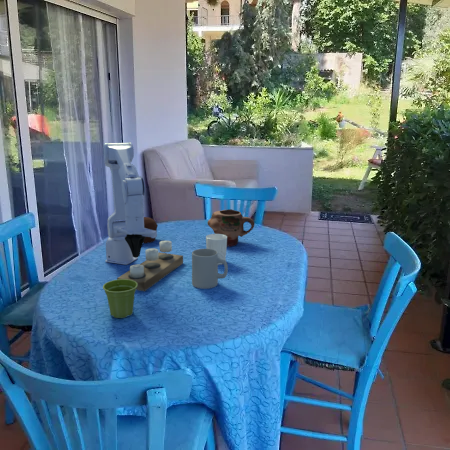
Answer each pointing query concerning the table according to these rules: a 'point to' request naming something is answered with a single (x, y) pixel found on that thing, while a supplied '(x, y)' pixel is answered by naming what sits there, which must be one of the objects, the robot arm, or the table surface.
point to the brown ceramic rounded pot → (230, 225)
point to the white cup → (217, 244)
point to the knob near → (137, 271)
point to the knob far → (165, 246)
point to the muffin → (150, 225)
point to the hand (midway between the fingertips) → (136, 256)
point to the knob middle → (152, 254)
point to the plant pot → (120, 297)
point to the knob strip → (155, 270)
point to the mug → (206, 268)
